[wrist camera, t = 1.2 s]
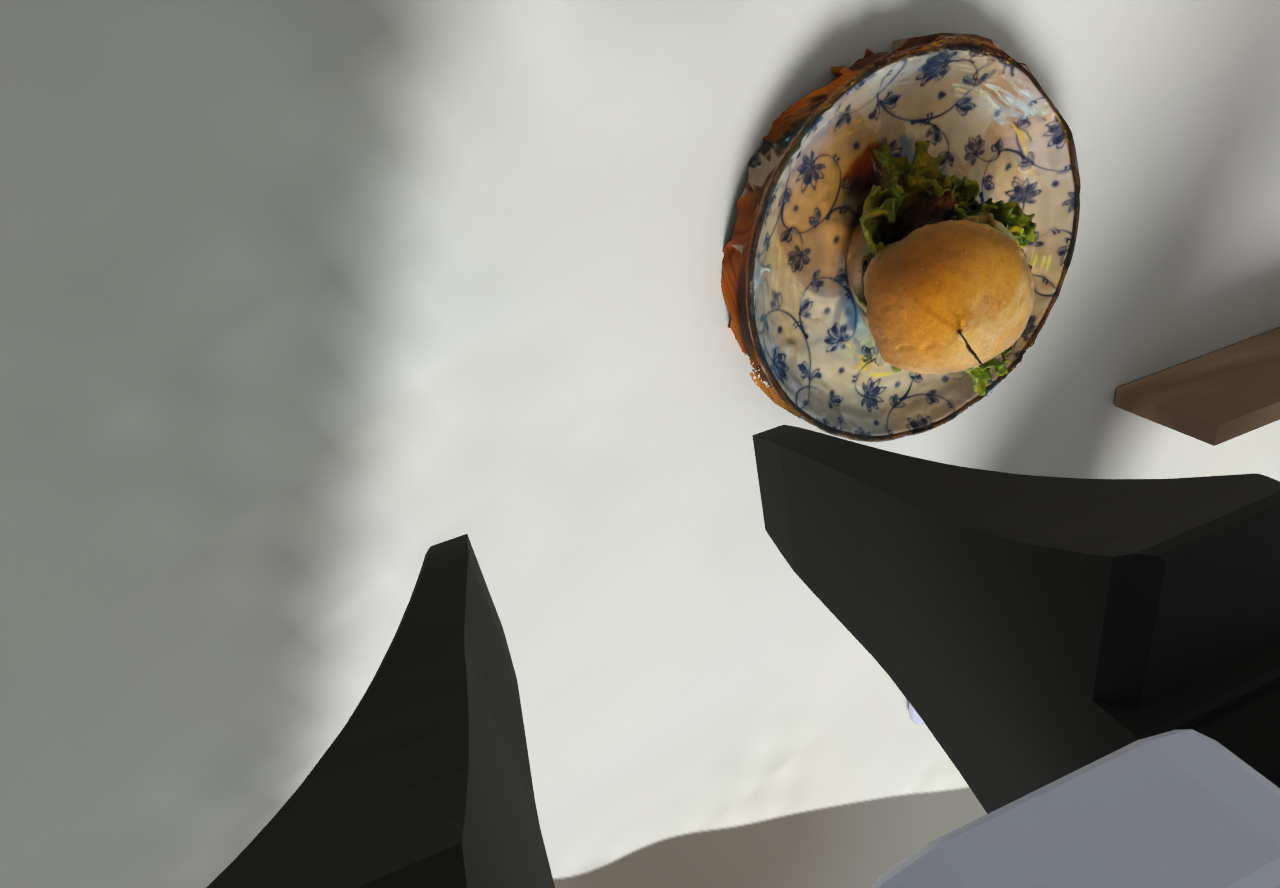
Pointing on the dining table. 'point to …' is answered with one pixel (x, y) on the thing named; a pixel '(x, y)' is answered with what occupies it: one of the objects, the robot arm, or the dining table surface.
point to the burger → (903, 237)
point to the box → (1213, 391)
